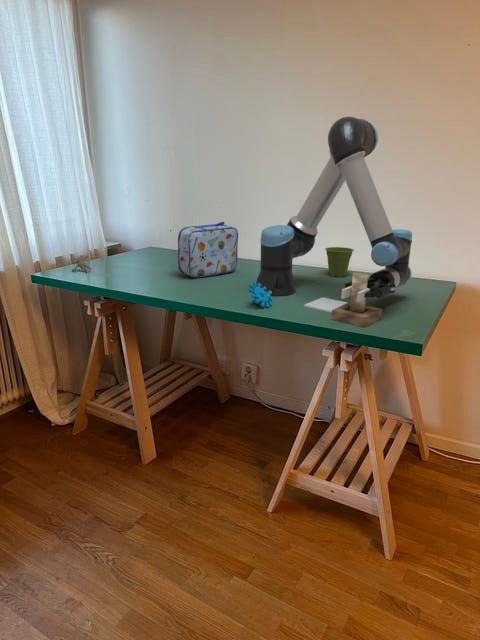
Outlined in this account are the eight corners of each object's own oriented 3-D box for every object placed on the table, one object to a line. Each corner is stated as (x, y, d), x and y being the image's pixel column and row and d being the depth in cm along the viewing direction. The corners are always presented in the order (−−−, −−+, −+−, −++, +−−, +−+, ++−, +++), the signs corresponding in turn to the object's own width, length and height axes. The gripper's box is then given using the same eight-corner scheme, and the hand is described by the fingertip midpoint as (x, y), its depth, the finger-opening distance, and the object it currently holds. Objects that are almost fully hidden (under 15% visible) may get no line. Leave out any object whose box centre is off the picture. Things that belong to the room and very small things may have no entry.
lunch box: (227, 267, 205) (227, 218, 198) (242, 271, 198) (242, 221, 191) (176, 276, 189) (173, 223, 182) (189, 281, 181) (187, 226, 174)
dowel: (346, 319, 138) (350, 274, 133) (353, 315, 141) (357, 271, 136) (359, 322, 135) (363, 276, 130) (366, 318, 138) (370, 274, 134)
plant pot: (357, 275, 192) (359, 249, 189) (340, 279, 185) (343, 252, 181) (334, 270, 201) (336, 245, 197) (317, 274, 193) (319, 248, 189)
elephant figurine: (78, 275, 191) (65, 265, 194) (84, 282, 196) (72, 272, 200) (94, 258, 193) (81, 249, 197) (100, 266, 198) (87, 256, 202)
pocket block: (331, 319, 137) (332, 309, 136) (348, 311, 145) (349, 302, 144) (364, 327, 131) (365, 317, 130) (380, 318, 139) (382, 308, 138)
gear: (260, 306, 144) (246, 281, 146) (249, 316, 147) (235, 291, 150) (280, 303, 152) (266, 279, 155) (269, 313, 156) (255, 289, 158)
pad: (303, 306, 150) (303, 304, 149) (322, 298, 158) (322, 297, 158) (335, 314, 142) (336, 312, 142) (353, 305, 151) (353, 303, 151)
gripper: (408, 296, 144) (377, 314, 127) (358, 287, 155) (323, 302, 138) (411, 273, 142) (379, 288, 125) (360, 266, 152) (325, 278, 135)
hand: (350, 295), depth 131 cm, fingers closed on dowel, 4 cm apart
